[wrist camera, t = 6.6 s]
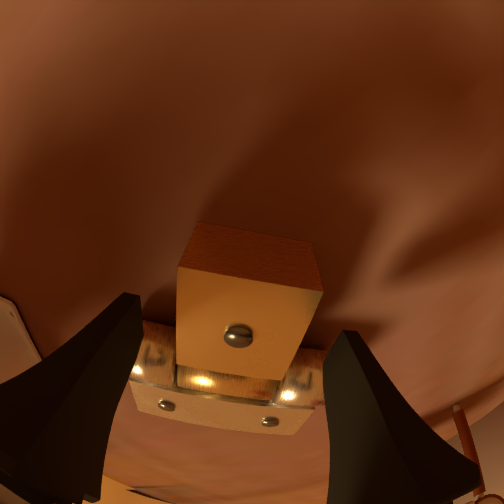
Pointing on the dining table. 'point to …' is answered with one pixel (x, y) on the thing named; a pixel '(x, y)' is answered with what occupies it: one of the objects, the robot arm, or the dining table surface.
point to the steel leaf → (217, 405)
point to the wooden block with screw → (242, 309)
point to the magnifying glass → (472, 456)
